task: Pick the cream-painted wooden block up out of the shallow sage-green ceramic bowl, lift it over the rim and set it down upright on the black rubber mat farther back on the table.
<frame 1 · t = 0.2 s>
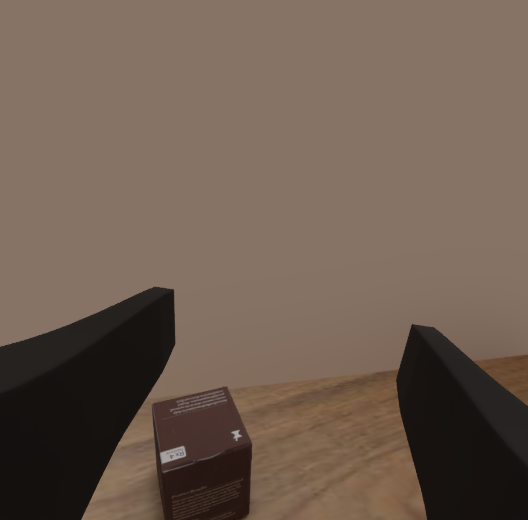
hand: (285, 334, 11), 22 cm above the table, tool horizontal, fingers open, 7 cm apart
box: (201, 494, 29), on the table
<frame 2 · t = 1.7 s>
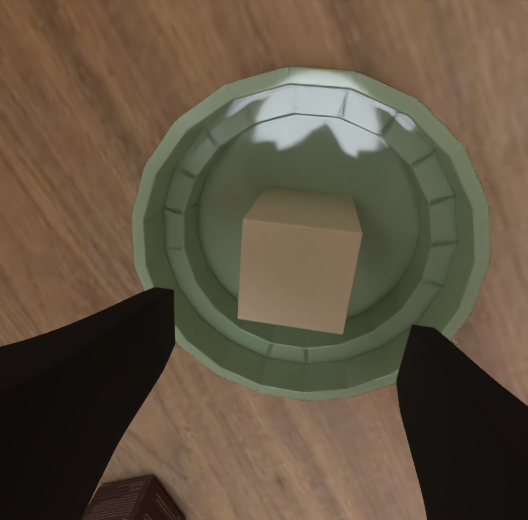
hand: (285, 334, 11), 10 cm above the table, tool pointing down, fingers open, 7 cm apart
green bowl: (304, 228, 21), on the table
block: (303, 231, 20), resting on green bowl
box: (144, 499, 33), on the table
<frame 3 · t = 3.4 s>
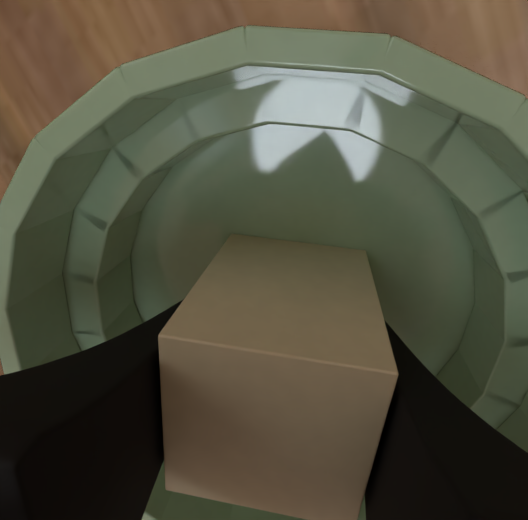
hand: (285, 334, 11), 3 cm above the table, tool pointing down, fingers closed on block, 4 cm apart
green bowl: (292, 293, 14), on the table
block: (290, 300, 13), point 1 cm above the table, touching green bowl, gripper
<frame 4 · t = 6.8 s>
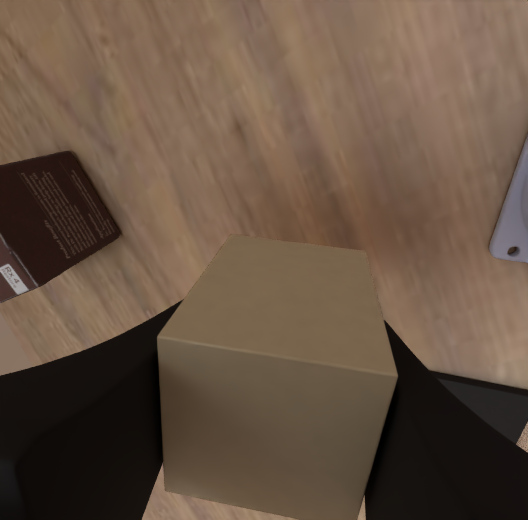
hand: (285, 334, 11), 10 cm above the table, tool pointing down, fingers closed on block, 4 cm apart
mat: (389, 434, 25), on the table
block: (289, 300, 13), point 8 cm above the table, tilted 5°, touching gripper
box: (69, 209, 24), on the table
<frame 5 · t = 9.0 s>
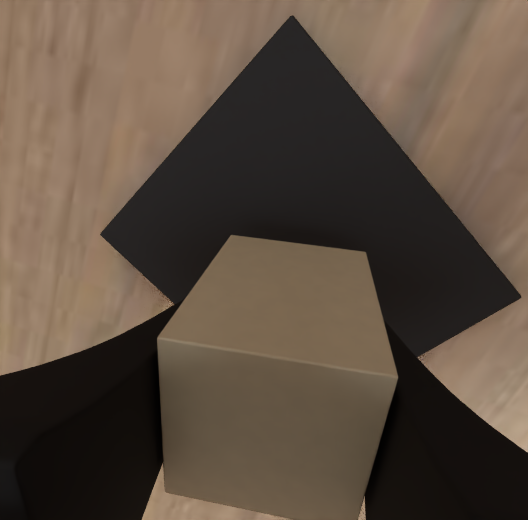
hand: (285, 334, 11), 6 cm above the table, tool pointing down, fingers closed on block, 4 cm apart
mat: (299, 258, 17), on the table
block: (290, 301, 13), point 4 cm above the table, touching gripper
when the fingers open (3 cm above the table, at t = 10.3 s): block stays where it is, resting on mat.
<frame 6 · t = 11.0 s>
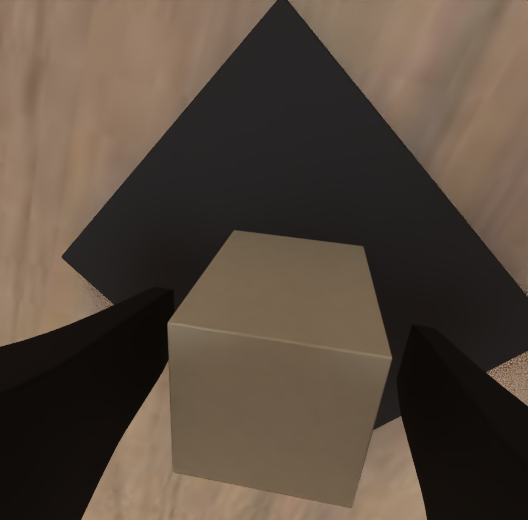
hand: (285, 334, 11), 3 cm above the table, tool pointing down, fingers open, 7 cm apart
mat: (293, 286, 14), on the table
block: (290, 294, 14), point 1 cm above the table, touching mat
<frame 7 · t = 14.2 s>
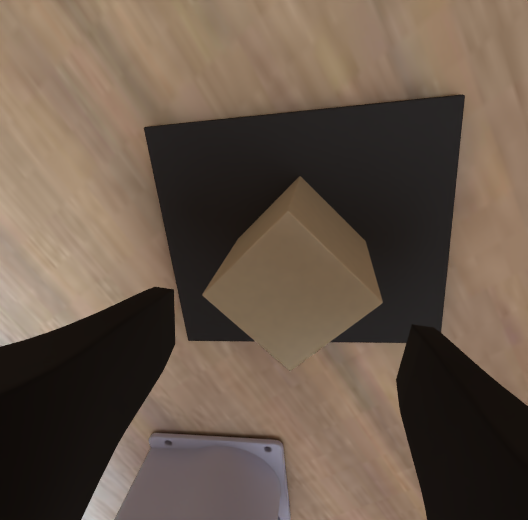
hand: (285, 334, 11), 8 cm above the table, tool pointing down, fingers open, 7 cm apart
mat: (300, 237, 19), on the table
block: (300, 240, 18), point 1 cm above the table, touching mat
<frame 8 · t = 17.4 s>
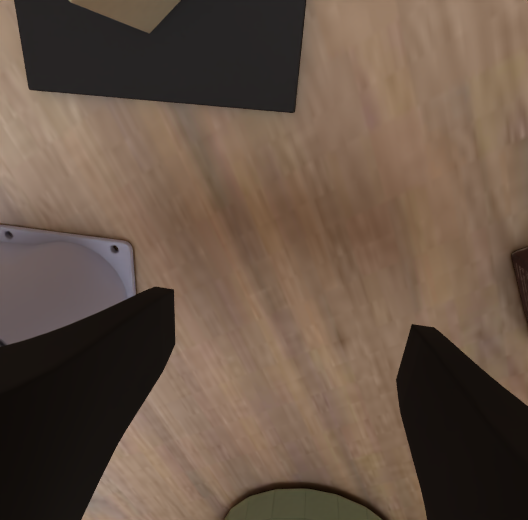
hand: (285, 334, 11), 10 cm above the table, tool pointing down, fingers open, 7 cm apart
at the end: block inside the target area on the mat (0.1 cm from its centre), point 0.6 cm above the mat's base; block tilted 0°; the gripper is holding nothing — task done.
